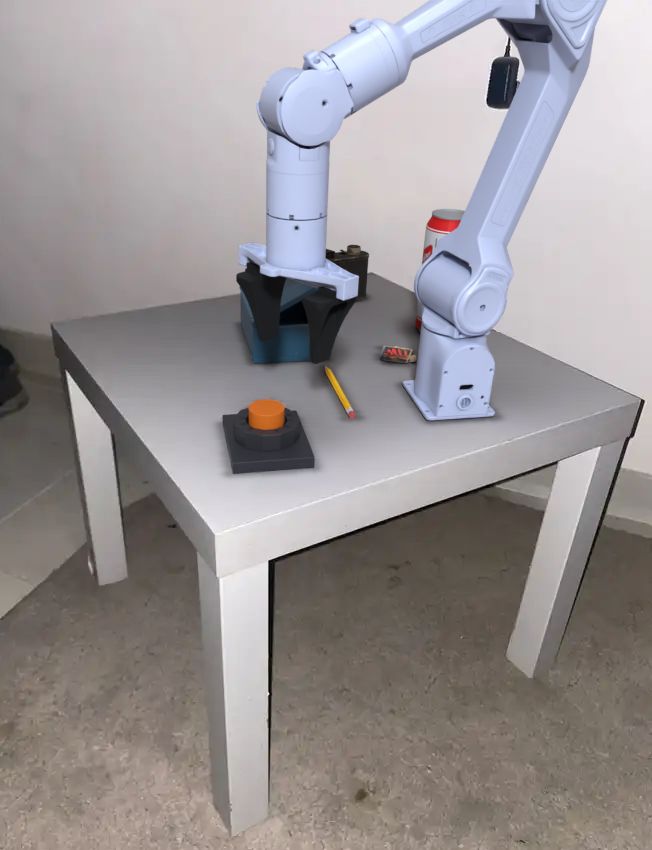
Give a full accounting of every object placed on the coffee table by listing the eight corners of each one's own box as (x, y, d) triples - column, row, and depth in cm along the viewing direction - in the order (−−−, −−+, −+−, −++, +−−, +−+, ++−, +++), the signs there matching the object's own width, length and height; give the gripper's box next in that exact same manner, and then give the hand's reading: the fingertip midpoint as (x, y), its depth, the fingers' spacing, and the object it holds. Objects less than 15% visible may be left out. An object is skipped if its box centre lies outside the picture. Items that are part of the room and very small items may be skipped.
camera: (280, 320, 109) (281, 265, 105) (261, 305, 114) (261, 251, 110) (379, 305, 116) (384, 252, 111) (357, 291, 121) (360, 240, 116)
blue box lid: (305, 254, 104) (289, 223, 101) (326, 286, 93) (309, 252, 90) (241, 291, 105) (224, 261, 102) (254, 327, 94) (235, 295, 91)
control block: (314, 467, 76) (315, 441, 74) (232, 473, 74) (232, 446, 73) (296, 419, 84) (296, 395, 82) (222, 424, 82) (221, 399, 81)
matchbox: (380, 363, 97) (381, 359, 97) (378, 347, 101) (378, 344, 101) (417, 364, 97) (418, 361, 97) (413, 348, 101) (413, 345, 101)
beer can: (462, 326, 109) (478, 210, 101) (457, 342, 104) (474, 221, 96) (417, 320, 110) (430, 205, 102) (411, 336, 105) (424, 216, 97)
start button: (287, 430, 76) (287, 414, 76) (251, 432, 76) (250, 416, 75) (281, 413, 79) (281, 398, 79) (246, 415, 79) (246, 400, 78)
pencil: (348, 419, 85) (349, 413, 84) (322, 368, 96) (322, 363, 95) (355, 418, 85) (356, 412, 84) (328, 368, 96) (328, 363, 95)
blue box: (307, 321, 109) (308, 289, 106) (327, 360, 98) (328, 324, 95) (240, 324, 107) (240, 291, 105) (253, 363, 96) (253, 328, 94)
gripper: (213, 205, 74) (217, 338, 81) (323, 236, 65) (317, 383, 72) (267, 194, 78) (267, 322, 85) (377, 223, 70) (366, 362, 77)
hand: (293, 349), depth 79 cm, fingers open, 7 cm apart
